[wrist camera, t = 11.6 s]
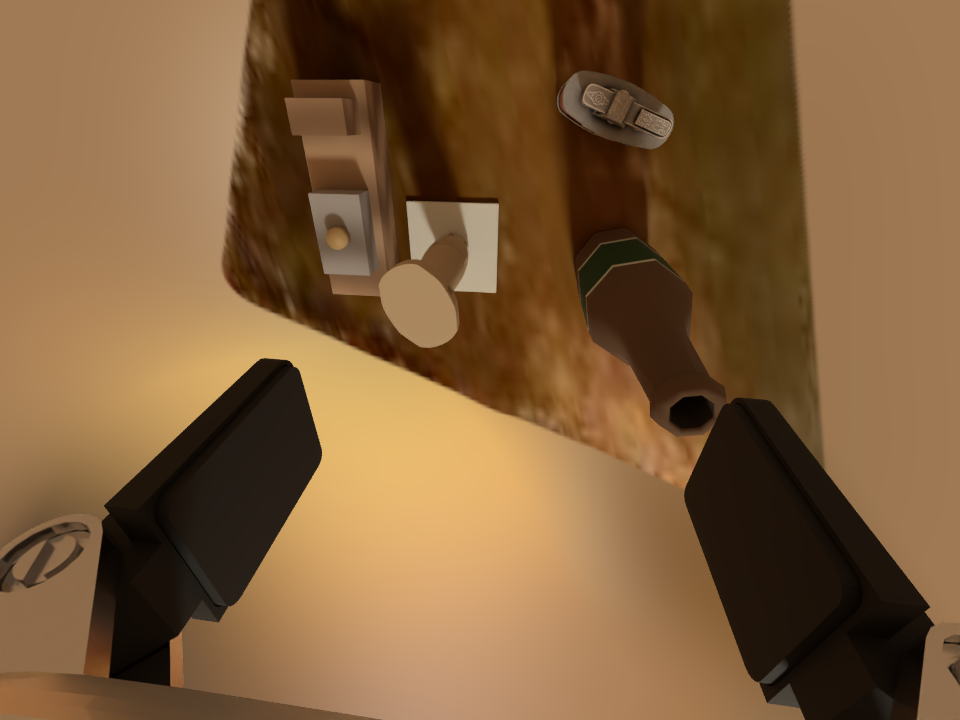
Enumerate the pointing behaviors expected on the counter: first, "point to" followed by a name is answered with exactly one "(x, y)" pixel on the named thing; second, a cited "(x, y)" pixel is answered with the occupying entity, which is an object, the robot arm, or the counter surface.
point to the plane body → (347, 179)
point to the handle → (426, 292)
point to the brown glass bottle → (647, 328)
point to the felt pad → (467, 223)
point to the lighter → (615, 110)
